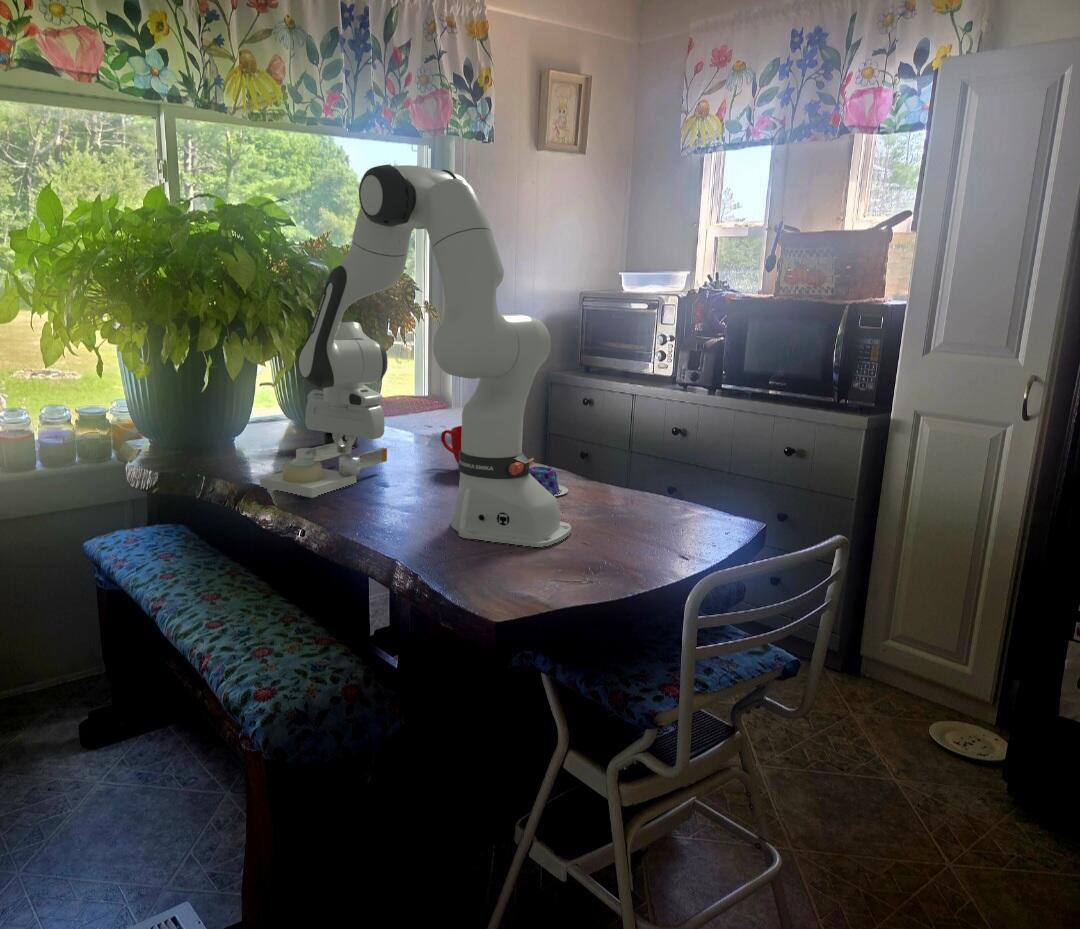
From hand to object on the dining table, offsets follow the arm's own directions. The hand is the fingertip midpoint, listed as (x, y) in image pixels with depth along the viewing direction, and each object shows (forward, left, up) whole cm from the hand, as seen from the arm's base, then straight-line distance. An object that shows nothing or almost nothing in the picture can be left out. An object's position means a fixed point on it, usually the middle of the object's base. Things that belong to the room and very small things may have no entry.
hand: (344, 453), depth 185 cm
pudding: (-45, -11, -5) cm, 47 cm away
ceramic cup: (-23, -18, -5) cm, 30 cm away
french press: (+18, -21, -5) cm, 28 cm away
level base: (-2, +14, -4) cm, 15 cm away
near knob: (-8, +3, -2) cm, 9 cm away
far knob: (+4, +3, -2) cm, 5 cm away
